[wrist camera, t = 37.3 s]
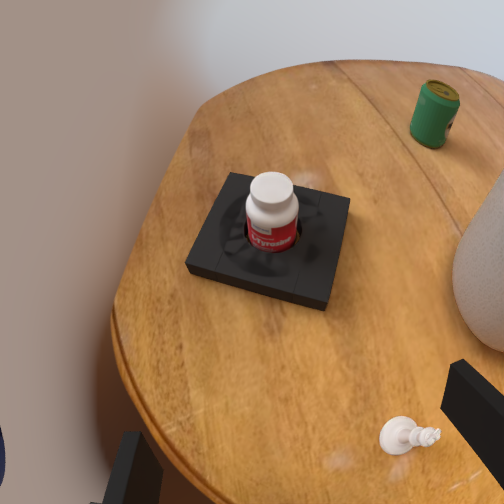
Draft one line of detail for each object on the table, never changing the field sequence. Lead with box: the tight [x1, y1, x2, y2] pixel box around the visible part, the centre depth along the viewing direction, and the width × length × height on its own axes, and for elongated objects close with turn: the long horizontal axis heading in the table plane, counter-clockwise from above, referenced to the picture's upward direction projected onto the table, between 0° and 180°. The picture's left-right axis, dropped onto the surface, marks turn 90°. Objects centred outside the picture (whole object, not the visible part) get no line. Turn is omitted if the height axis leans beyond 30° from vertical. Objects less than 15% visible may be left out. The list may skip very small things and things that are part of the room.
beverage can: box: [410, 80, 460, 148], centre depth 48 cm, size 8×8×12 cm
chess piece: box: [379, 416, 441, 455], centre depth 25 cm, size 5×5×10 cm
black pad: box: [185, 172, 350, 311], centre depth 42 cm, size 18×16×3 cm
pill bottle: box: [246, 172, 299, 254], centre depth 38 cm, size 6×6×11 cm
